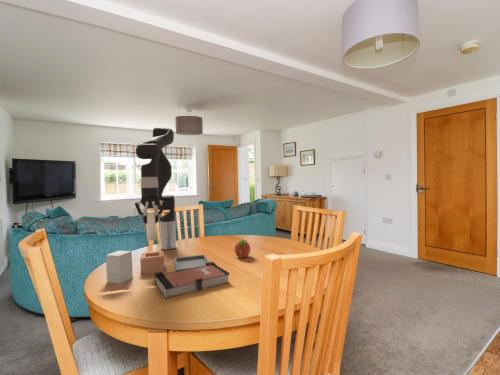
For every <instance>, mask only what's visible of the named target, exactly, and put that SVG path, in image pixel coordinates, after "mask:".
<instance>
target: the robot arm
mask: <svg viewBox="0 0 500 375" xmlns="http://www.w3.org/2000/svg"><path fill="white" fill-rule="evenodd" d="M174 140H175V132H174V130H173V129H172V128H169V127H158V126H157V127H156V126H155V127H154V128H153V130H152V137H151V138H150V139H149V140H148V141H144V142H141V143H139V144H138V145H136V148H135V154H136V156H137V158H139V159H140V160H150V162H148V163H145V164H141V166H140V172H141V173H140V174H141V175H140V176H141V179H140V192H141V194H140V195H141V199H140V200H139V201H138V202H134V206H135V208H136V210H137V213H138V215H139V216H142V217H143V218H142V220H143V223H144V224H145V225H147V217H146V212H148V209H153V211H154V212H155V222H156V224H157V223H159V233H160V236H159V237H160V249H161V250H163V251H164V250H166V251H167V250H172V249H175V248H177V240H176V215H175V214H176V213H175V210H176V209H175V207H176V206H175V205H176V202H175V201H176V200H175V196H174V195H171V194H167V195H163V193H164V192H163V191H164V190H165V188H166V186H167V185H168V183H169V181H170V180H171V178H172V175H173V174H172V170H173V169H172V164H171V162H170V161H169V159H168V157H166V155H165V153H164V151H163V148H165V147H168V146H169V145H171V144H172V143H173V142H174ZM141 205H142V206H143V207H144V209H143V211H142V210H141ZM163 211H168V212H167V213H165V214H163ZM161 214H163V215H161ZM159 215H161V216H160V217H159Z"/></svg>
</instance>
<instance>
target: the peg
mask: <svg viewBox="0 0 500 375" xmlns="http://www.w3.org/2000/svg"><path fill="white" fill-rule="evenodd" d="M155 215H156V214H155V211H154V210H152V211H147V212H146V217H147V224H146V236H147V241H156V240H157V225H156V224H157V223H156V222H155Z"/></svg>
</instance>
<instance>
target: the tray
mask: <svg viewBox="0 0 500 375" xmlns="http://www.w3.org/2000/svg"><path fill="white" fill-rule="evenodd" d="M209 262H210V261H209V259H208V257H207V256H206V254H197V255H189V256H179V257H174V258H173V263H174V270H175V272H176V271H180V270H185V269H190V268H195V267H200V266H204V265H206V263H209Z"/></svg>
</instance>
